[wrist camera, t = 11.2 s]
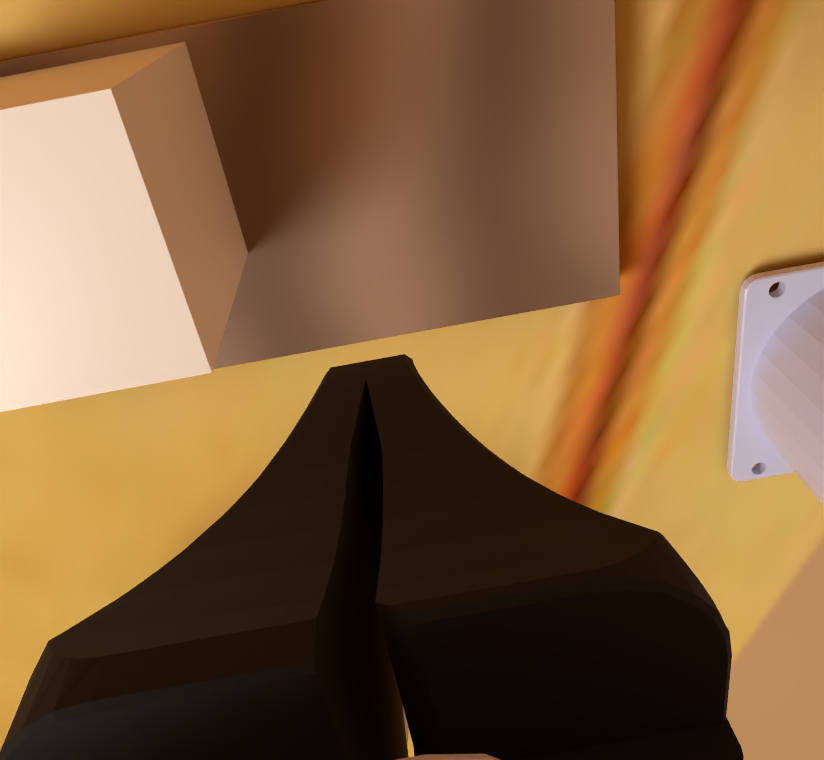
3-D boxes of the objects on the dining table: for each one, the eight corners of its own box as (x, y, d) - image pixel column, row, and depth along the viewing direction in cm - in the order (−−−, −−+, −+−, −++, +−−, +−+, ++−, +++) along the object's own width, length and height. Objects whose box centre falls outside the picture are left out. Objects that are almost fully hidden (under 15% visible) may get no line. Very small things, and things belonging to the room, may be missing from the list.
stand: (600, -53, 18) (613, -53, 17) (609, 281, 23) (619, 295, 22) (-114, 81, 18) (-137, 88, 18) (37, 386, 23) (25, 403, 22)
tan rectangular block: (185, 41, 18) (110, 88, 12) (248, 253, 20) (211, 372, 15) (-37, 84, 18) (-215, 151, 12) (56, 289, 20) (-53, 421, 15)
